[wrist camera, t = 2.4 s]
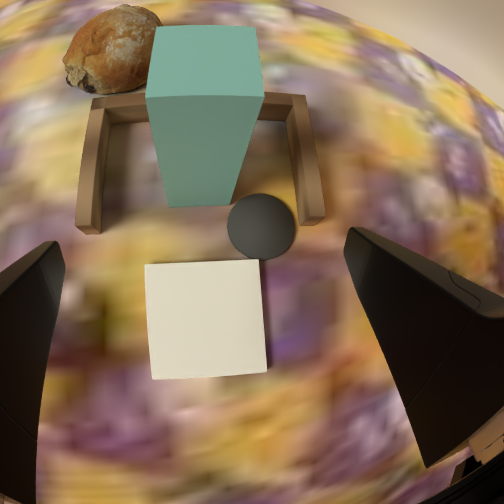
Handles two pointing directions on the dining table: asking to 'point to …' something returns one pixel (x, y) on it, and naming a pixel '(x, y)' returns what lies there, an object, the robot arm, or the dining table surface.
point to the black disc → (260, 226)
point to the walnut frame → (135, 110)
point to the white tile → (205, 319)
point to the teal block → (203, 108)
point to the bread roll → (112, 51)
